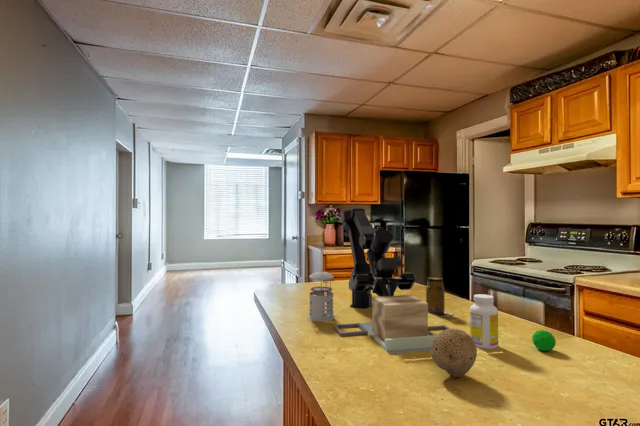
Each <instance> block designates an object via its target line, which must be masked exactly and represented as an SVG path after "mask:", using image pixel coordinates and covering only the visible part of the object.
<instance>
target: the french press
mask: <svg viewBox="0 0 640 426" xmlns="http://www.w3.org/2000/svg"><path fill="white" fill-rule="evenodd" d="M317 245H318V246H320V271H316V272H314V273H311V274H310V275H309V276H308V277H309V279H310V280H314V281H315V280H316V281H320V286H313V287H310V292H309V314H308V316H307V317H306V320H307V321H309V322H312V323H314V321H315V322H329V321H333V320H334V319H336V316H335V315H334V293H333V292H332V290H333V288H332V283H331V280H332V279H334V277H335V276H334V275H333V274H331V273H330V272H327V271H323V269H322V268H323V267H322V266H323V265H322V263H323V261H322V258H323V257H322V247H323V246H325V243H324V242H323V241H321V242H320V241H319V242H318V244H317ZM322 282H323V283H322ZM328 283H329V284H330V286H328V285H327V284H328ZM323 284H325V286H322V285H323Z"/></svg>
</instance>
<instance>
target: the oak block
mask: <svg viewBox="0 0 640 426" xmlns="http://www.w3.org/2000/svg"><path fill="white" fill-rule="evenodd" d="M371 308H372V309H371V313H372V316H371V317H372V321H371V322H372V332H373V333H374V334H375V335H376V336H377V337H379V338H380V339H381V340H382V341H383V342H384V343H385V339H388V338H402V337H417V336H428V331H429V330H428V326H429V323H428V321H429V318H428V317H429V313H428V303H427V302H426V300H425V301H424V300H422V299H420V298H418V297H416V296H415V295H413V294H404V295H403V294H402V295H394V296H378V295H376V296H372V306H371Z"/></svg>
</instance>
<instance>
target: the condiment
mask: <svg viewBox="0 0 640 426" xmlns="http://www.w3.org/2000/svg"><path fill="white" fill-rule="evenodd" d="M426 281H427V282H426V284H427V285H426V287H425V302H427V303H428V314H434V315H436V316H438V317H441V318H446V317H450V316H453V315H454V313H453V312H448V311H446V310H445V304H446V303H445V286H444V278H441V277H435V276H434V277H433V276H431V277H430V276H429V277H427V280H426ZM444 312H445V313H446V314H445V313H444Z"/></svg>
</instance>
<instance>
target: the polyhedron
mask: <svg viewBox="0 0 640 426" xmlns="http://www.w3.org/2000/svg"><path fill="white" fill-rule="evenodd" d="M531 339H532V340H531V341H532V343H533V345H534V346H535V348H536V349H538V350H539V351H543V352H550V351H552V350H553V349H554V348H555V346H556V344H557V340H556V338H555V336H554V335H553V334H552V332H549V331H547V330H544V329H540V330H536V331H535V332H534V333H533V335H532V337H531Z"/></svg>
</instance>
